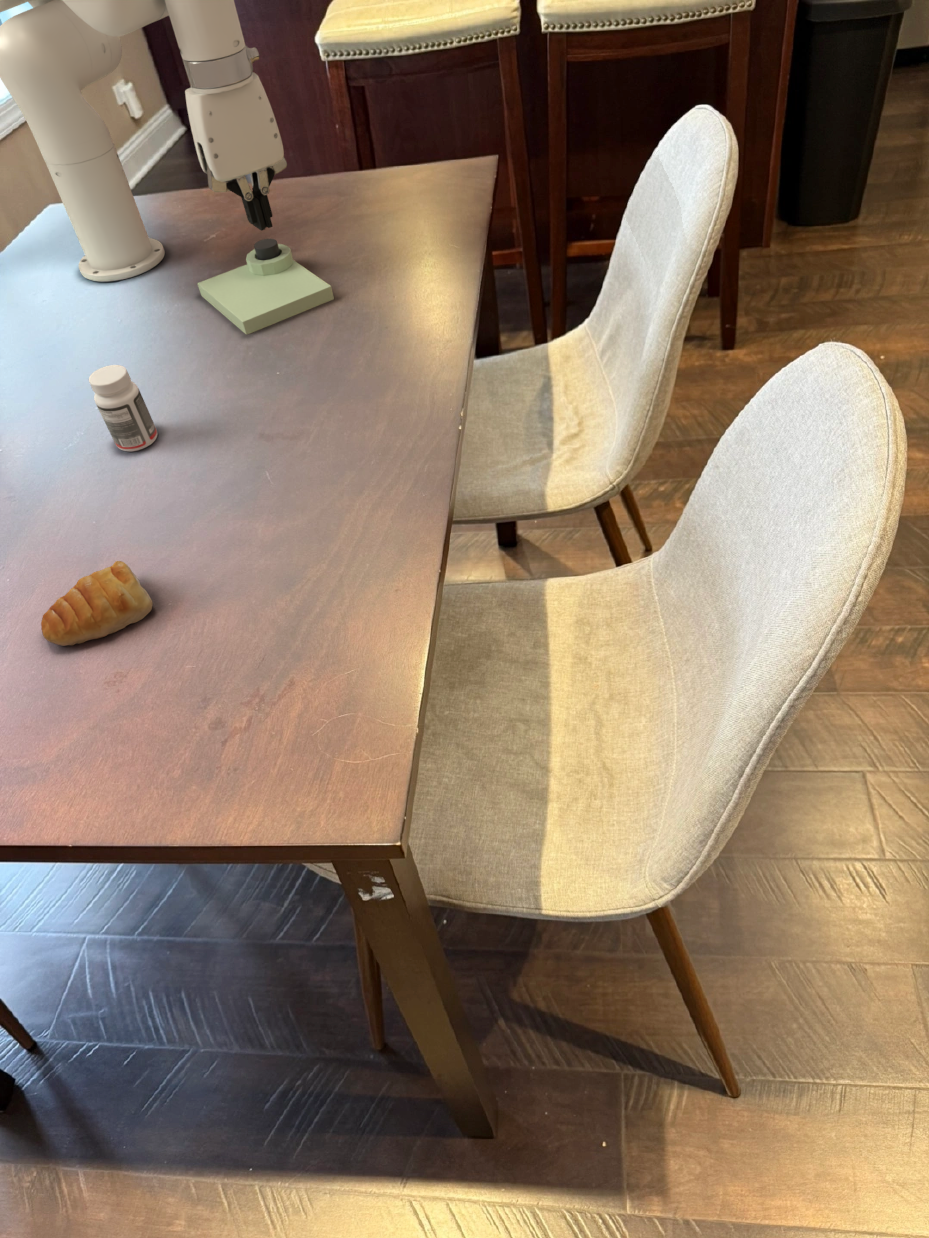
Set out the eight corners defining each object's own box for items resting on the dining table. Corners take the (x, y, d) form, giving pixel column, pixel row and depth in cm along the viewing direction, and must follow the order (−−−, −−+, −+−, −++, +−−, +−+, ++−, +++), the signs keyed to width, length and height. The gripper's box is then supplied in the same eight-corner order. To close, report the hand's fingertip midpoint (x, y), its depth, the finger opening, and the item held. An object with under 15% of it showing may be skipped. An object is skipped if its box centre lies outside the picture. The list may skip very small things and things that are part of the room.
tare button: (253, 256, 119) (250, 244, 118) (274, 249, 120) (270, 236, 119) (263, 264, 117) (260, 251, 116) (284, 256, 119) (281, 243, 117)
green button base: (201, 296, 120) (192, 271, 117) (284, 264, 124) (278, 240, 122) (246, 335, 111) (238, 310, 108) (334, 299, 115) (329, 274, 113)
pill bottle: (140, 423, 99) (111, 358, 93) (167, 434, 97) (139, 368, 91) (107, 445, 97) (75, 379, 91) (134, 457, 95) (103, 391, 88)
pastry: (63, 666, 74) (42, 637, 71) (37, 625, 78) (16, 595, 75) (162, 610, 78) (146, 580, 75) (132, 573, 81) (116, 543, 79)
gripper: (261, 48, 107) (298, 201, 121) (149, 82, 102) (200, 237, 116) (288, 58, 103) (324, 215, 116) (172, 94, 98) (223, 253, 111)
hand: (262, 226), depth 116 cm, fingers closed
